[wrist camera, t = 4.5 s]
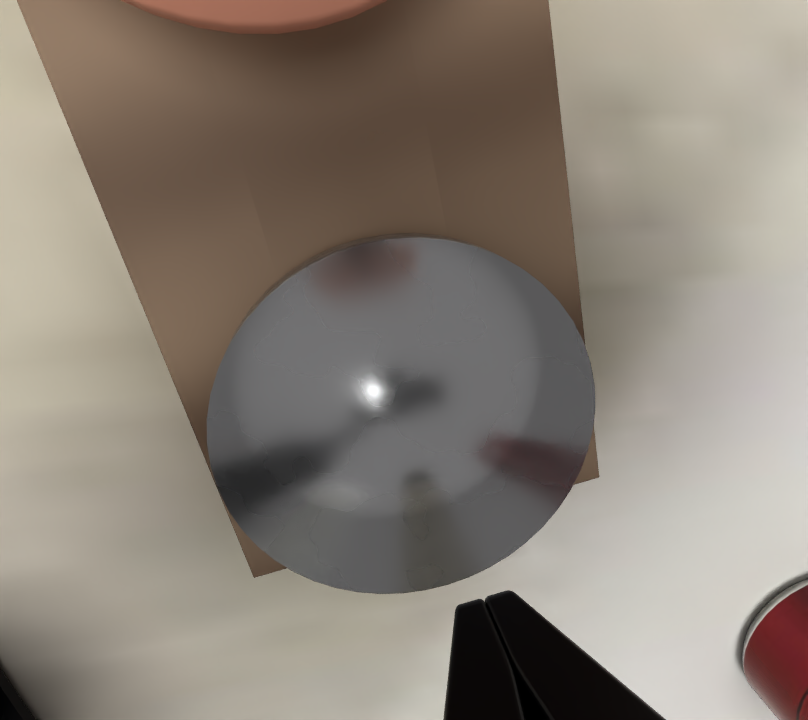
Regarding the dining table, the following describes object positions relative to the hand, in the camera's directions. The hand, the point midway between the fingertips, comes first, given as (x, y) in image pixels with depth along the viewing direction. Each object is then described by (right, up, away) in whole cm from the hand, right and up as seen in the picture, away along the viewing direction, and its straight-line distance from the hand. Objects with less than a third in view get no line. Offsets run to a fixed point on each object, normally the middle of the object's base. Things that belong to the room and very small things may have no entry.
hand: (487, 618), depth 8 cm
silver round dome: (-2, +3, +10) cm, 11 cm away
